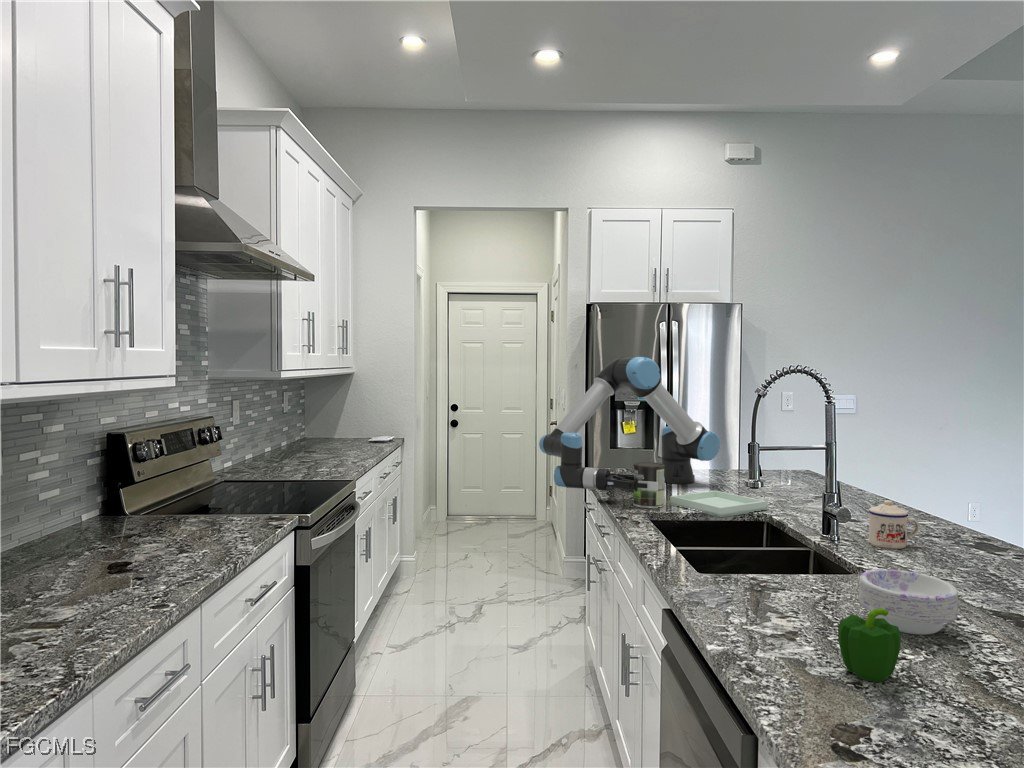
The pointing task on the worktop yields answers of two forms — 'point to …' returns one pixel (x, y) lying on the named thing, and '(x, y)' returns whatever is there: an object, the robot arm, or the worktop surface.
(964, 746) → the worktop surface
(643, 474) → the coffee can
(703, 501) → the tray
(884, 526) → the teacup with lid
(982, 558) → the worktop surface
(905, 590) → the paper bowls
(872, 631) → the bell pepper
